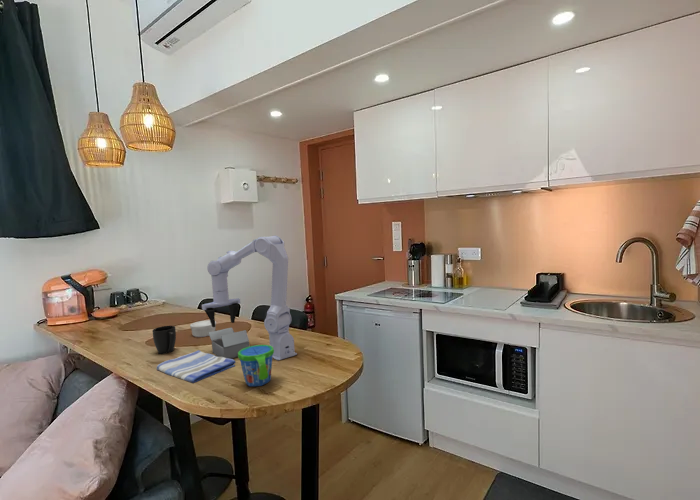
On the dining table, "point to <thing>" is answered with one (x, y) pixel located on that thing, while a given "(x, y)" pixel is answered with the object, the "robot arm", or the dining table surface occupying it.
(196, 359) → the dish towel
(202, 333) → the ramekin
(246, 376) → the snack cup
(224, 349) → the carton
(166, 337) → the mug
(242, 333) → the near flap
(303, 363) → the dining table surface
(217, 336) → the far flap
